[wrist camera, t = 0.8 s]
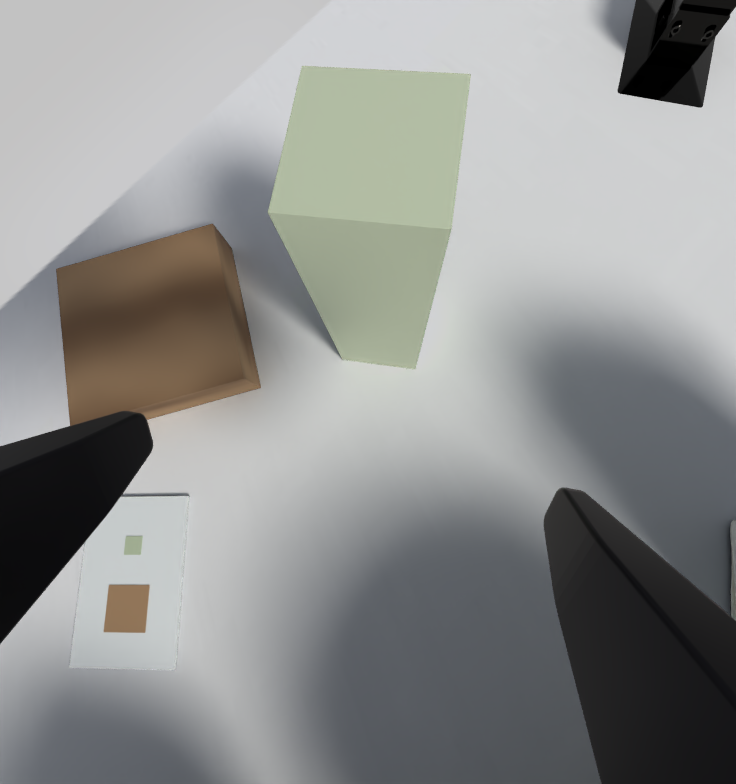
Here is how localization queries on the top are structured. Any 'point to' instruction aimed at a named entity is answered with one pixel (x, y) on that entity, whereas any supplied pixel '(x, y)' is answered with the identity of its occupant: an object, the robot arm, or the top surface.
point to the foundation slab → (155, 328)
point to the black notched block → (672, 49)
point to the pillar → (371, 201)
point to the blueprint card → (132, 586)
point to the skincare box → (733, 569)
